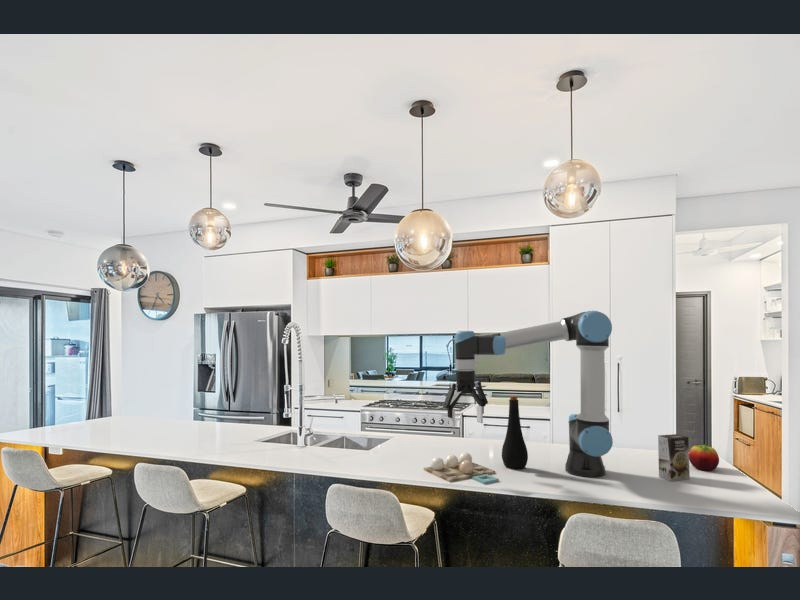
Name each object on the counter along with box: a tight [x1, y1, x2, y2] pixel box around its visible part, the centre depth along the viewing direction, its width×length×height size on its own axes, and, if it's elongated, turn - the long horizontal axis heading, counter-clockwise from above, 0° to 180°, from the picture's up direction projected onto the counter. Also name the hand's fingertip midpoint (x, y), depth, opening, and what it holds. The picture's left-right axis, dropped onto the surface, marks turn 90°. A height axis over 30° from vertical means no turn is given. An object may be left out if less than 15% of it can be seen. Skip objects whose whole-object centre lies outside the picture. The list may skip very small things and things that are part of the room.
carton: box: [423, 461, 496, 483], centre depth 198 cm, size 22×18×2 cm
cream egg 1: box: [430, 456, 445, 471], centre depth 199 cm, size 6×6×6 cm
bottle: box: [501, 395, 529, 470], centre depth 205 cm, size 11×11×30 cm
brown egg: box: [460, 460, 474, 475], centre depth 194 cm, size 6×6×6 cm
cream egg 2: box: [444, 454, 459, 468], centre depth 202 cm, size 6×6×6 cm
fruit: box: [689, 444, 720, 472], centre depth 204 cm, size 11×11×10 cm
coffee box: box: [657, 433, 691, 482], centre depth 192 cm, size 9×6×16 cm
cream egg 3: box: [458, 452, 473, 464], centre depth 206 cm, size 6×6×6 cm
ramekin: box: [471, 474, 500, 485], centre depth 187 cm, size 7×7×2 cm
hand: (466, 424), depth 195 cm, fingers open, 13 cm apart
